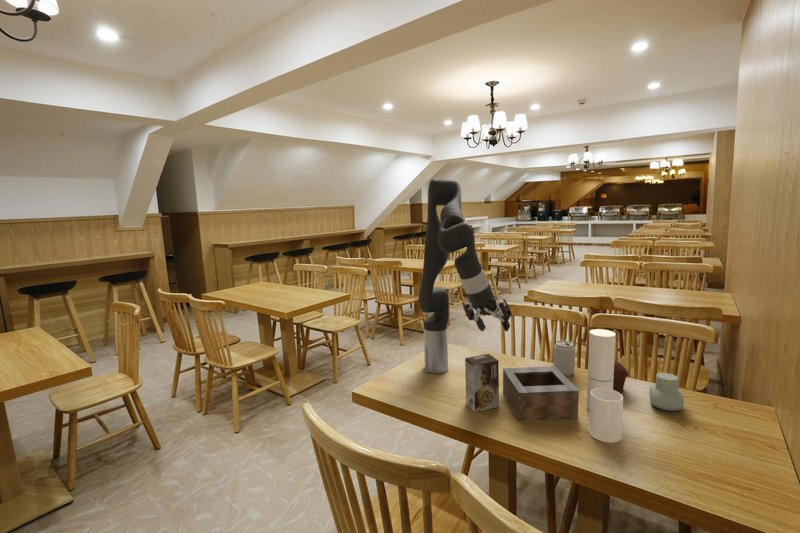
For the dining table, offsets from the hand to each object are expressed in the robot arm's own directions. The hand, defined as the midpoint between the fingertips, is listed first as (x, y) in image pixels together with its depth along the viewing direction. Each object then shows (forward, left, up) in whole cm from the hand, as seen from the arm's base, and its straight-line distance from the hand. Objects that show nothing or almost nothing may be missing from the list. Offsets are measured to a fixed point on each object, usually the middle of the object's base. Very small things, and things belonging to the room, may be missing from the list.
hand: (495, 329), depth 124 cm
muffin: (+42, +10, -27) cm, 51 cm away
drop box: (+14, +1, -26) cm, 30 cm away
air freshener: (+53, -3, -27) cm, 60 cm away
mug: (+26, -18, -27) cm, 41 cm away
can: (+32, +24, -27) cm, 48 cm away
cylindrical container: (+32, -3, -27) cm, 42 cm away
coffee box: (-4, +2, -27) cm, 27 cm away
